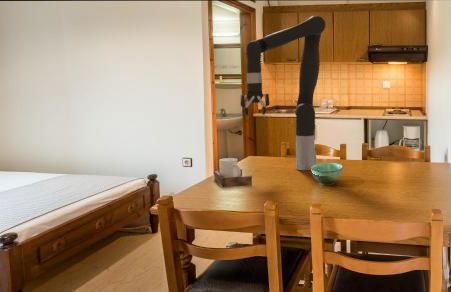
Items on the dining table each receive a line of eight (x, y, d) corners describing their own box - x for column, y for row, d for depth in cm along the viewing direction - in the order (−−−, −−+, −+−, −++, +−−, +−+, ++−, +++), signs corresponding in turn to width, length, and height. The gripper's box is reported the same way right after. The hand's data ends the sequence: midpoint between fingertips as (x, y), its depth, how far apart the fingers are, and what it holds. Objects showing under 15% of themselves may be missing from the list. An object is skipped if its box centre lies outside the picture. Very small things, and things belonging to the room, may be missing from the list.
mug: (247, 182, 228) (246, 160, 226) (233, 185, 223) (232, 162, 221) (230, 179, 237) (229, 157, 236) (216, 181, 232) (215, 159, 230)
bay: (241, 177, 240) (241, 169, 239) (251, 185, 223) (251, 176, 222) (214, 179, 237) (214, 171, 236) (222, 187, 220) (222, 178, 219)
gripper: (265, 81, 254) (266, 113, 257) (238, 82, 251) (239, 115, 254) (270, 81, 247) (271, 114, 249) (242, 82, 244) (243, 116, 246)
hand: (255, 115), depth 252 cm, fingers open, 8 cm apart
